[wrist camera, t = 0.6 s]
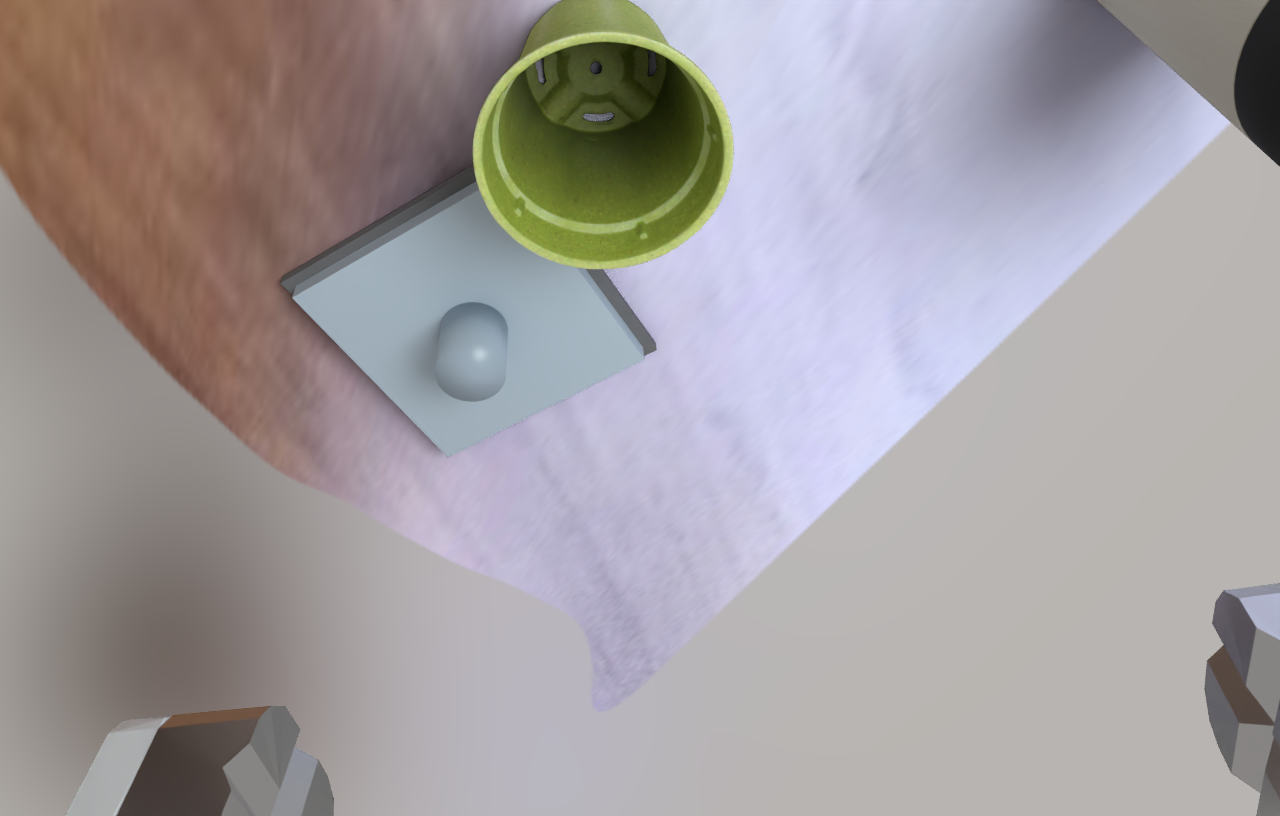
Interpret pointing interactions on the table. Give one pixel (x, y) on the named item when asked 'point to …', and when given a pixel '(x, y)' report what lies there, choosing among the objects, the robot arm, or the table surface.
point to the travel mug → (1218, 55)
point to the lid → (467, 322)
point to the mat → (424, 204)
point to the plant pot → (602, 141)
